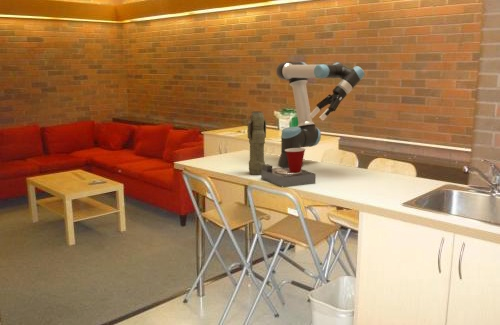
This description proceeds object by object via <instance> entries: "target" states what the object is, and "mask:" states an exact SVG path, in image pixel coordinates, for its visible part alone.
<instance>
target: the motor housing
mask: <svg viewBox="0 0 500 325" xmlns="http://www.w3.org/2000/svg"><path fill="white" fill-rule="evenodd" d="M316 175H317V174H316V173H314V172H311V171H308V170H305V169H302V168H301V172H290V170H289V167H276V168H273V165H272V164H268V163H265V164H264V165H263V169H262V170H261V175H260V177H261V180H264V181H266V182H268V183H271V184H273V185H276V186H278V187H281V186H283V187H282V188H288V187H297V186H303V185H312V184H316V177H317V176H316Z"/></svg>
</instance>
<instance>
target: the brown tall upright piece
mask: <svg viewBox="0 0 500 325" xmlns="http://www.w3.org/2000/svg"><path fill="white" fill-rule="evenodd" d="M249 119H250V120H248V122H247V139H248V143H249V161H248V171H249V172H248V174H249V175H252V176H261V170H262V169H263V165H264V164H266V163H265V162H266V161H265V157H264V156H265V143H266V141H265V140H266V137H267V121H266V120H265V116H264V112H262V111H258V110H257V111H256V110H255V111H252V112H251V114H250V118H249Z"/></svg>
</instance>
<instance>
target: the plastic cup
mask: <svg viewBox="0 0 500 325" xmlns="http://www.w3.org/2000/svg"><path fill="white" fill-rule="evenodd" d="M285 152H286V154H287V159H288V165H289V170H290V172H301V169H302V167H303V166H302V163H303V164H304V162H303V161H304V156H305V152H306V147H302V148H290V149H286V150H285Z"/></svg>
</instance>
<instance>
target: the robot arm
mask: <svg viewBox="0 0 500 325" xmlns="http://www.w3.org/2000/svg"><path fill="white" fill-rule="evenodd" d="M275 73H276V76H277V77H278V79H280V80H282V81H286V82H287V81H288V83H289V86H290V87H292V93H293V98H294V104H295V111H296V117H297V121H298V122H297V123H298V124H297V126H289V127H288V126H287V127H285V128H283V129H282V131H281V135H280V138H281V143H280V144H281V148H280V149H281V150H280V156H279V159H278V162H277V163H278V164H277V166H279V167H280V168H283V167H289V165H288V159H287V154H286V152H285V150H286V149H290V148H310V147H315V146H317V145H318V144H319V143H320V141H321V138H322V134H321V130H320V129H319V128H318V127H316V124H315V122H313V119H314V118H315V117H316V116H317V115H318V113H319V112H321V111H322V109H323V108H324V107H327V106H328V105H329V106H328V107H327V108H326V109H325V111H324V112H322V114H321V115H320V116H319V117H318V118H319V119H320V120H321V121H323V122H324V120H325V119H327V117H328V116H330V114H331V113H333V112H335V111H337V108H338V107H339V105H340V103H341V102H342V101H343V100H344V99H345V98H346V97H347V96H348V94H349V93H351V92H352V90H353V89H354V88H355V87H356V86H357V85H358V84H359V83H360V82H361V81H362V79H364V77H365V76H366V73H365V71H364V69H363V68H361V67H360V66H358V65H357V66H353V68H352V67H349V66H347V65H345V64H343V63H340V62H334V63H333V64H327V63H326V64H323V63H320V64H307V63H306V62H304V61H281V62H280V63H279V64H278V65H277V66H276V68H275ZM309 79H320V80H321V79H340V82H338V83H337V85H336V86H335V87H334V88H333V89H332V94H331V93H330V94H328V95H327V96H326V97H325V98H323V99H322V100H321V101H320V102H318V103H317V104H316V107H315V108H314V109H313V110H312V111H311V108H310V107H311V105H310V100H309V95H308V89H307V83H308V82H309V81H308V80H309ZM303 166H304V162H303V163H302V167H303Z"/></svg>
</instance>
